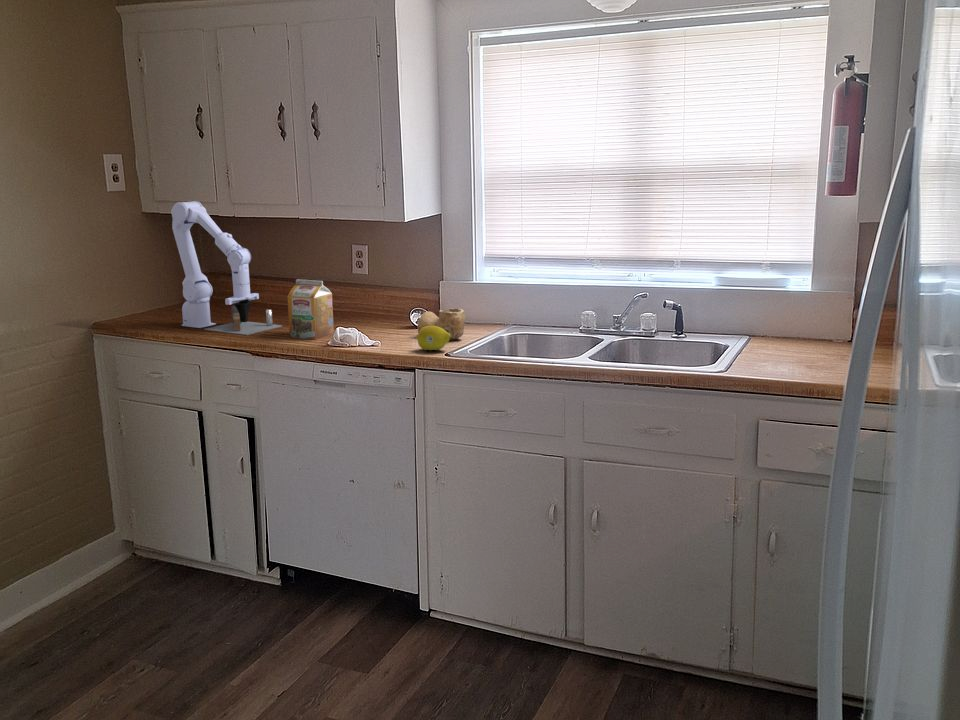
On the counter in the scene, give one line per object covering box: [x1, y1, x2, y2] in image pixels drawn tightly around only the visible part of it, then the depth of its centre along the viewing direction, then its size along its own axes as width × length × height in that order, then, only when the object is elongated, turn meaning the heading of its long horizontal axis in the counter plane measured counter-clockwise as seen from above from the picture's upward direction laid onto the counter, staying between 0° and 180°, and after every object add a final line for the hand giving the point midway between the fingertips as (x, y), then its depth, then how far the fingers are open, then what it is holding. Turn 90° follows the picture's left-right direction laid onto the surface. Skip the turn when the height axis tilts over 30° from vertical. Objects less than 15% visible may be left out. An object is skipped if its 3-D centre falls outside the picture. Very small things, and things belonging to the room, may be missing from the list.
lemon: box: [416, 326, 451, 351], centre depth 272 cm, size 11×8×8 cm
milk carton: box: [287, 278, 335, 341], centre depth 295 cm, size 11×11×19 cm
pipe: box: [417, 307, 466, 341], centre depth 291 cm, size 9×16×10 cm, turn 56°
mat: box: [203, 321, 283, 336], centre depth 310 cm, size 20×18×1 cm
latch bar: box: [230, 305, 242, 331], centre depth 310 cm, size 17×3×6 cm, turn 16°
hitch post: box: [265, 309, 274, 326], centre depth 312 cm, size 2×2×6 cm
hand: (244, 321), depth 308 cm, fingers closed, pressing on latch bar
